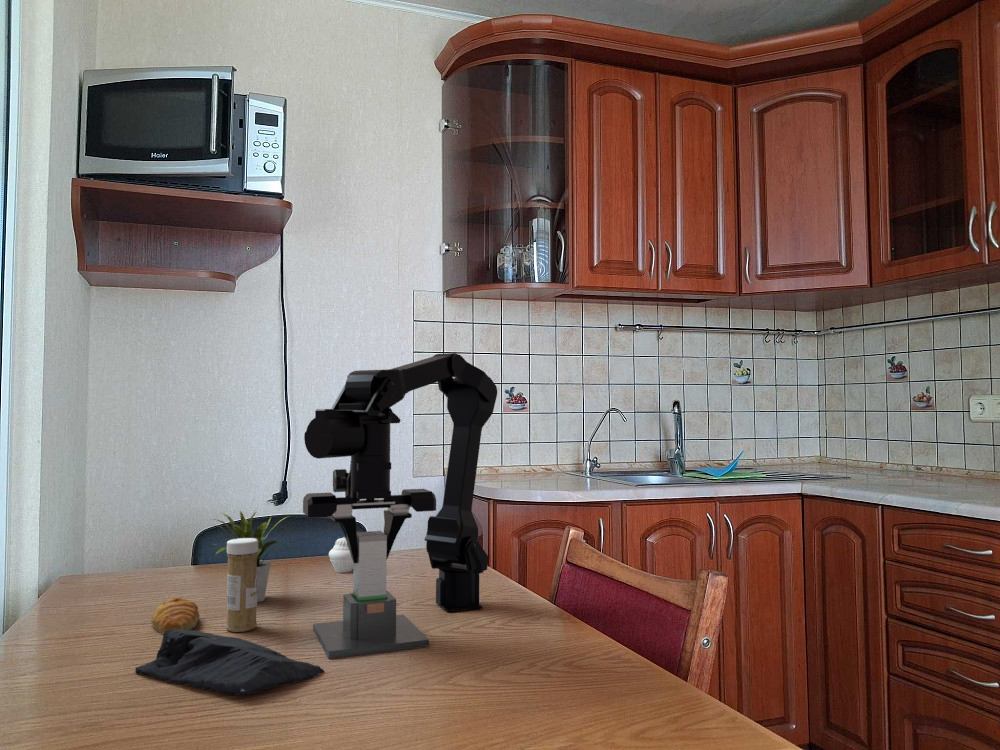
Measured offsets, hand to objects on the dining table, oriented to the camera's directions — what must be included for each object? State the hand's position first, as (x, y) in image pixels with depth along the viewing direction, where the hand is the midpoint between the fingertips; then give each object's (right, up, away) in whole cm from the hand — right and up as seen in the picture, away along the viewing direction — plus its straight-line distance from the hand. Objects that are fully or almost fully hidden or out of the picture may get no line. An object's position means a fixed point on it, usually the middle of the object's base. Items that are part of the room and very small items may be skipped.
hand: (369, 561), depth 111 cm
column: (0, -6, 0) cm, 6 cm away
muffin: (-13, -13, +45) cm, 49 cm away
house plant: (-26, -12, +21) cm, 36 cm away
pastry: (-31, -12, +6) cm, 33 cm away
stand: (0, -11, -1) cm, 11 cm away
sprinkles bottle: (-20, -11, +4) cm, 24 cm away
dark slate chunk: (-15, -11, -14) cm, 24 cm away
